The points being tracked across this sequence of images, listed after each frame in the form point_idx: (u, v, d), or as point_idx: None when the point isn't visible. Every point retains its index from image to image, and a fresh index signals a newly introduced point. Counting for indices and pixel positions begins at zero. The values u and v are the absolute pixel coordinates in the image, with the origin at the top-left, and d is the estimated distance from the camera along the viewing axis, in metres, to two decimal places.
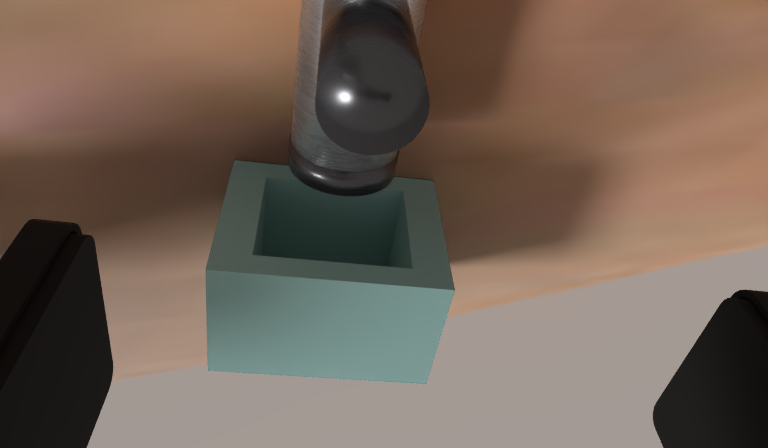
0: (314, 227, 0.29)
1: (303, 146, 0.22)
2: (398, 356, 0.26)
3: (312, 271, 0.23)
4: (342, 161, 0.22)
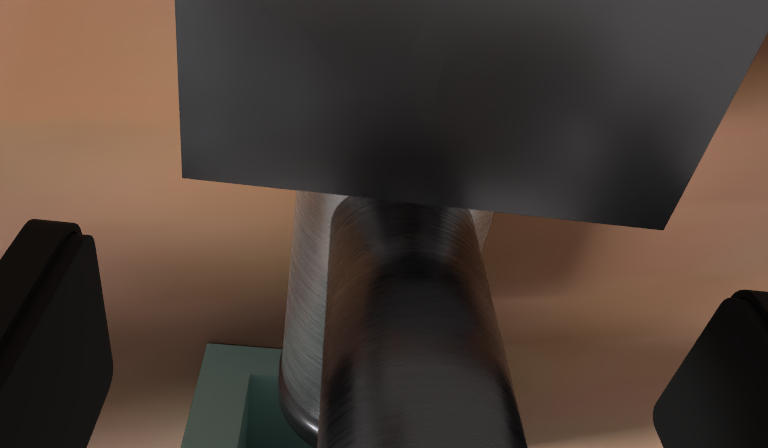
0: None
1: (298, 392, 0.15)
2: None
3: None
4: None
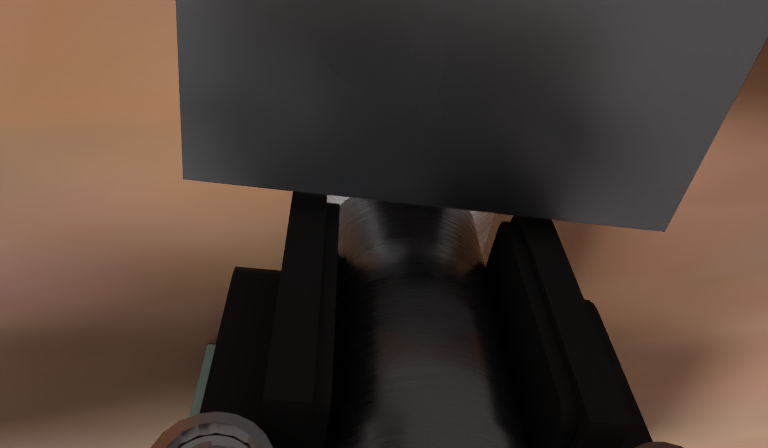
0: None
1: None
2: None
3: None
4: None
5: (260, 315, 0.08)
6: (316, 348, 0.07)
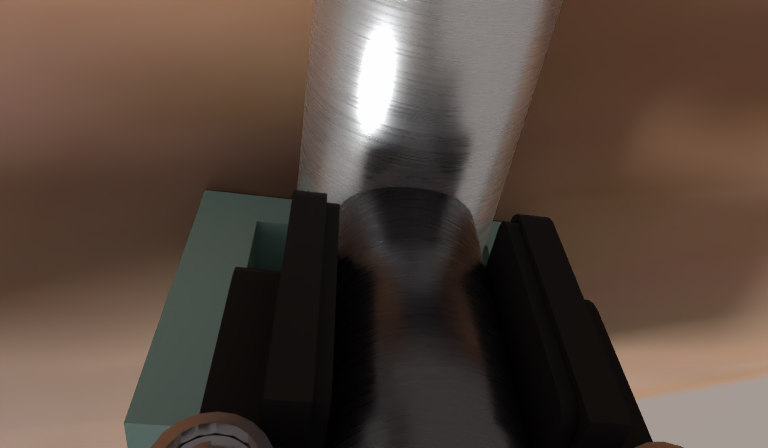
0: None
1: None
2: None
3: None
4: None
5: (260, 315, 0.08)
6: (316, 347, 0.07)
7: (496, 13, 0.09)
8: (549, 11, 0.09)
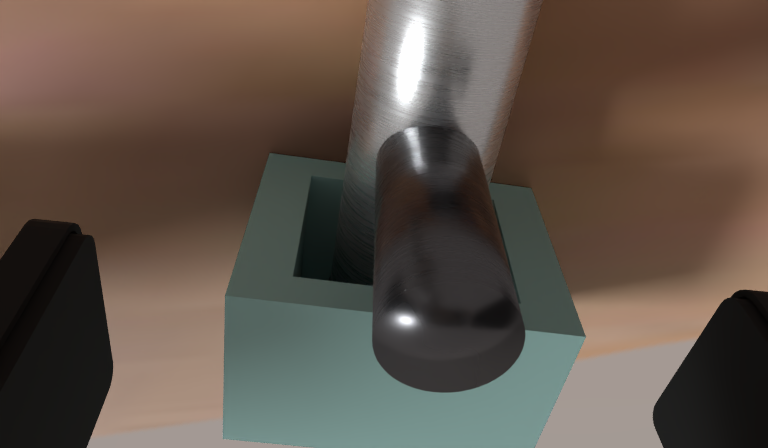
0: None
1: None
2: (491, 428, 0.18)
3: None
4: None
5: None
6: None
7: (495, 0, 0.13)
8: (532, 1, 0.14)
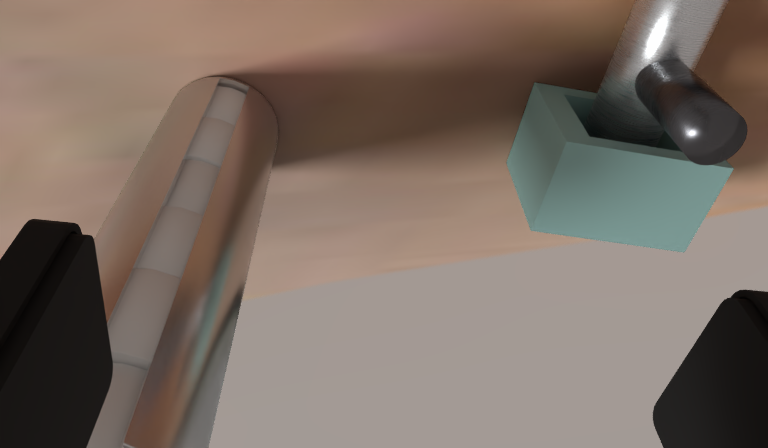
0: None
1: None
2: (673, 225, 0.34)
3: (634, 149, 0.32)
4: None
5: None
6: None
7: (715, 0, 0.29)
8: (727, 1, 0.30)
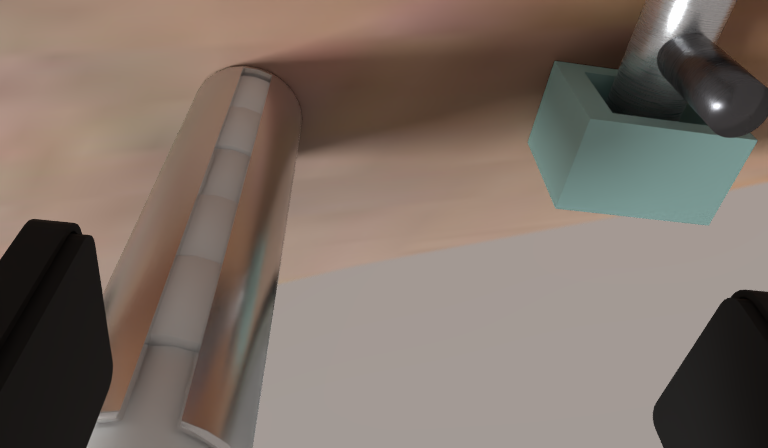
0: None
1: None
2: (697, 199, 0.35)
3: (658, 124, 0.32)
4: None
5: None
6: None
7: None
8: None
